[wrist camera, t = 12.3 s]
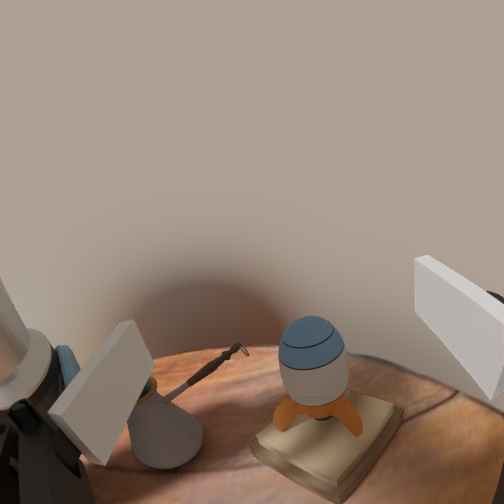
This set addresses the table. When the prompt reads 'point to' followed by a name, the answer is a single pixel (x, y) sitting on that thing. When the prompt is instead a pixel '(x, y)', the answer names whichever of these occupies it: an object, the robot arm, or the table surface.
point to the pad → (322, 485)
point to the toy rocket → (314, 375)
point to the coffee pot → (168, 422)
